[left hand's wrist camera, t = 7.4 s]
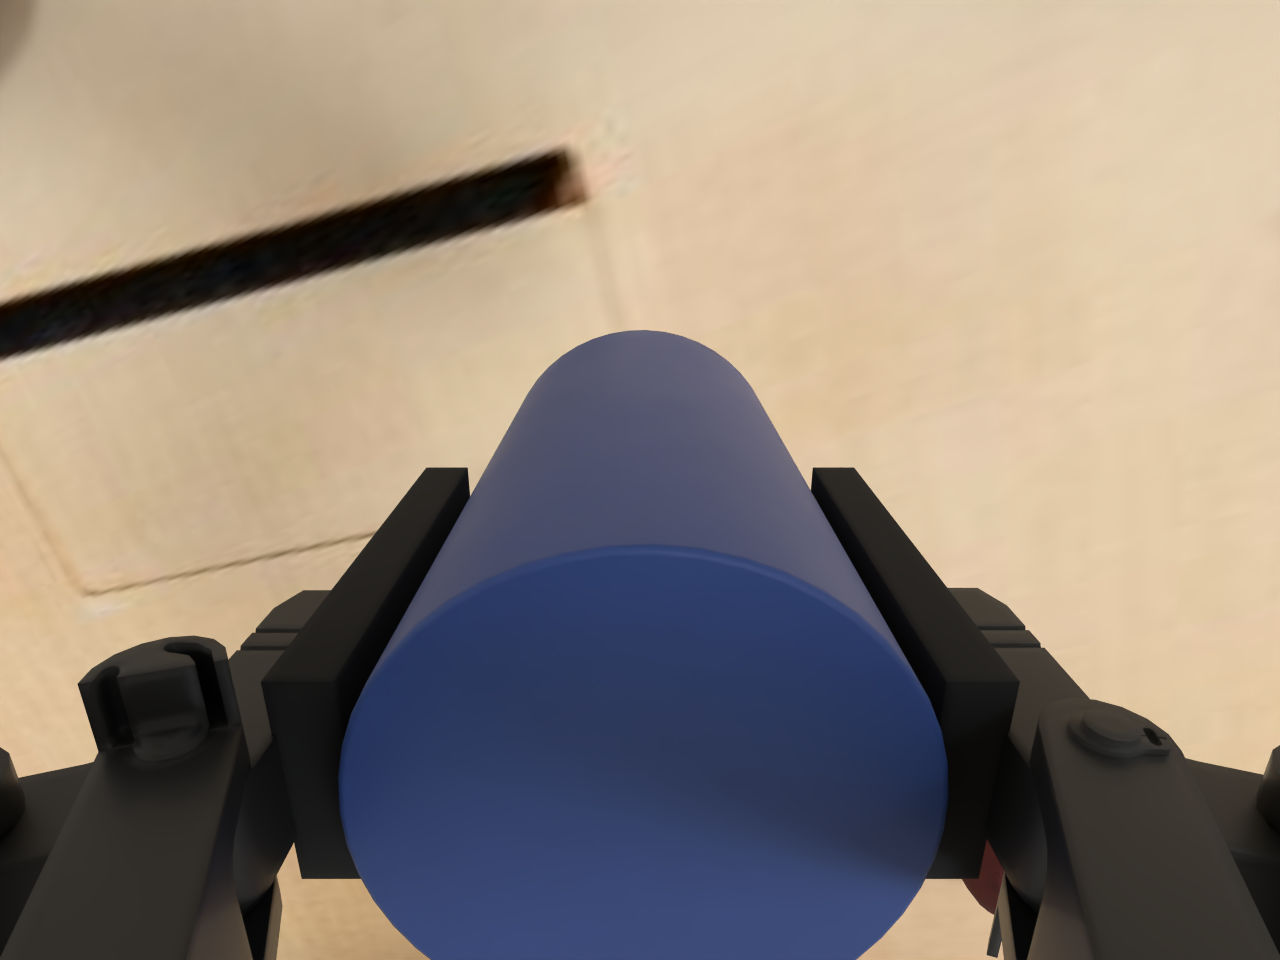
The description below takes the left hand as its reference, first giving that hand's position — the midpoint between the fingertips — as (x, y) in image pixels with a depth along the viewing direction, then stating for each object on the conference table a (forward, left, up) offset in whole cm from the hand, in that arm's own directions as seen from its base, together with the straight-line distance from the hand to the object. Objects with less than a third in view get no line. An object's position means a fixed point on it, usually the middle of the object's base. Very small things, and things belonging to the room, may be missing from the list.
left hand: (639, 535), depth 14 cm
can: (0, 0, -5) cm, 5 cm away
